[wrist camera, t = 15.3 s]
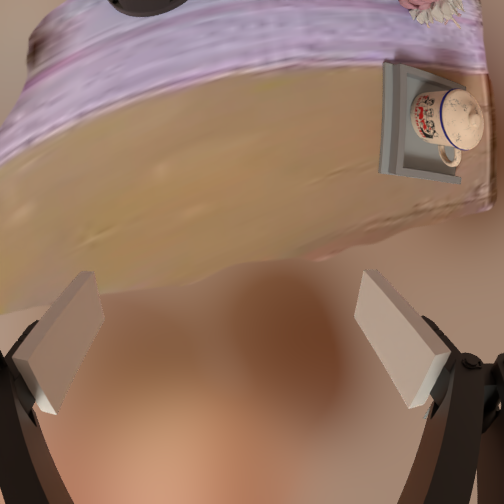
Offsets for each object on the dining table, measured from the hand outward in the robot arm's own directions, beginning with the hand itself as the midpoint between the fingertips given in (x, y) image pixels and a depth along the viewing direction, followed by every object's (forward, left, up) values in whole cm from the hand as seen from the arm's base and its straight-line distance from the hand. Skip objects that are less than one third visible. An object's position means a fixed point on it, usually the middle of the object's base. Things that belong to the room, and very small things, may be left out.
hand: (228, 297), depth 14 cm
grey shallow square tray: (-12, +31, -31) cm, 45 cm away
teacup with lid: (-12, +32, -30) cm, 46 cm away
